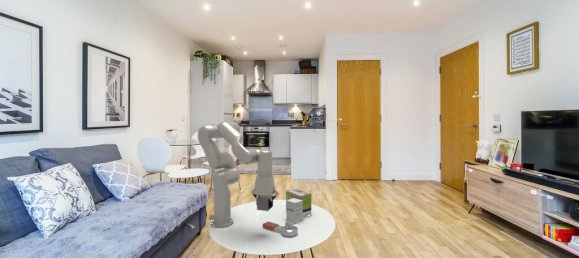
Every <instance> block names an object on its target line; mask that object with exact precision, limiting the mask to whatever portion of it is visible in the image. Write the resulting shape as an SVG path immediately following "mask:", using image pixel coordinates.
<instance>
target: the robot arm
mask: <svg viewBox="0 0 579 258" xmlns="http://www.w3.org/2000/svg"><path fill="white" fill-rule="evenodd" d="M240 131H241V126H240V125H239V123H237V122H236V121H222V122H219V123H218V124H204V125H202V126H201V127H199V129H198V132H197V139H198V143H199V144H200V146H201V148H202V150H203V153H204V155H205V158H206V161H207V164H208V166H209V167H210V169H211V170H217V171H215V172H214V173H213V175H212V177H211V181H212V186H213V214H209V216H208V220H212V221H213V220H214V221H213V222H212V221H211V223H213V225H214V226H216V227H215V228H226V227H229V226H231V225H233V224H234V219H233V218H231V217H232V216H231V214H232V211H231V210H232V208H231V206H232V203H231V202H232V200H231V190H230V188H229V186H231V185H234V184H237V183H238V182H239V181H240V179H241V177H240V175H241V174H240V170H239V169H238V166H237V164H236V161H235V159H234V157H235V158H236V159H237V160H238V161H240V162H241V163H242V164H244V165H250V164H255V163H257V170H255V174H257V175H256V177H255V181H254V187H253V189H251V191H250V193H251V194H252V196H253V197H254V198H255V201H256V203H255V204H256V206H257V198H258V197H260V196H269V198H270V201H269V209H270V210H271V209H273V207H274V200H275V199H276V198H277V197H278V196H279V195H280V193H279V191H278V190H277V189H276V188H275V187H276V186H275V178H274V175H273V151H272V150H269V149H261V148H247V149H246V148H245V147H244V146H243V145H242V142H243V141H244V136H243V134H242V133H241V132H240ZM222 138H223V139H224V140H225V141H226V142H227V143H228V144H229V145H230V146H231V147H230V148H231V151H232V152H231V153H232V154H233V156H232V154H231V153H230V152H221V151H220V149H219V146H218V144H217V143H216V142H215V141H214V140H213V139H222ZM211 223H210V224H211ZM214 226H213V227H214Z"/></svg>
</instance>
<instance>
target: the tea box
mask: <svg viewBox="0 0 579 258" xmlns="http://www.w3.org/2000/svg"><path fill="white" fill-rule="evenodd" d="M293 198H296V199H299V200H303V217H305V216H308V215H311V216H312V193H311V192H308V191H305V190H302V189H299V188H294V189H290V190H286V191H285V202H286V203H285V211H286V210H287V200H289V199H293ZM308 217H309V216H308ZM305 218H306V217H305Z"/></svg>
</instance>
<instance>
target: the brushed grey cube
mask: <svg viewBox="0 0 579 258" xmlns="http://www.w3.org/2000/svg"><path fill="white" fill-rule="evenodd" d="M269 201H270V198H269V196H261V195H260V197H258V198H257V205H256V210H257V211H265V212H269V211H270V210H271V209H269Z"/></svg>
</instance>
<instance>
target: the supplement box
mask: <svg viewBox="0 0 579 258" xmlns="http://www.w3.org/2000/svg"><path fill="white" fill-rule="evenodd" d="M285 212H286V214H285V215H286V218H285V219H286V222H287V221H292V222H294V224H297V222H298V223H299V222H303V221H304V220H303V219H304V218H303V200H299V199H296V198H293V199H289V200H287V210H286V209H285Z"/></svg>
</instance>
